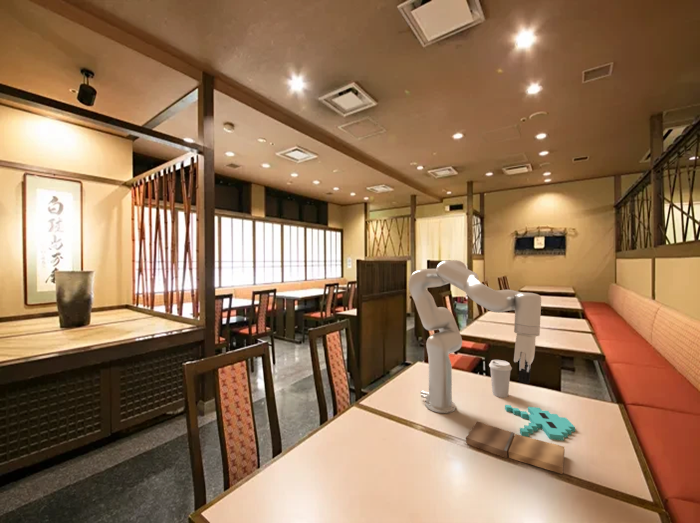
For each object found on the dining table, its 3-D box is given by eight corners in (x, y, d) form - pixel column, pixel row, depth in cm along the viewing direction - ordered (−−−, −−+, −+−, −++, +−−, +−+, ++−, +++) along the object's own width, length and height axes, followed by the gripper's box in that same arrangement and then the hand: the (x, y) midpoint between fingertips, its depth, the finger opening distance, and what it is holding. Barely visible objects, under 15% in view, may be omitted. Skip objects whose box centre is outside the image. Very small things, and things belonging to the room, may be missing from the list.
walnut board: (466, 443, 103) (466, 436, 103) (476, 426, 114) (476, 420, 114) (507, 458, 96) (507, 451, 96) (514, 439, 106) (514, 432, 106)
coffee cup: (486, 389, 146) (486, 358, 146) (508, 391, 144) (508, 359, 144) (492, 398, 137) (491, 365, 137) (514, 400, 135) (514, 366, 135)
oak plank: (508, 457, 96) (508, 451, 96) (515, 439, 105) (515, 434, 105) (562, 474, 87) (561, 467, 87) (564, 452, 97) (564, 446, 97)
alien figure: (522, 437, 108) (585, 444, 104) (522, 431, 108) (585, 437, 103) (504, 409, 127) (557, 414, 123) (504, 404, 127) (557, 409, 123)
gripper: (518, 323, 111) (516, 372, 111) (509, 331, 99) (507, 386, 100) (542, 327, 106) (540, 378, 107) (536, 336, 94) (533, 393, 95)
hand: (524, 381), depth 103 cm, fingers closed
